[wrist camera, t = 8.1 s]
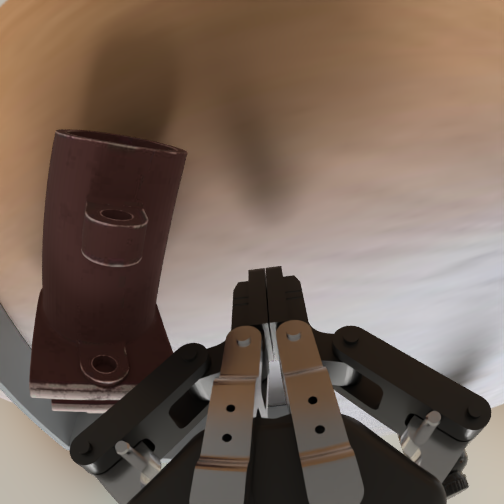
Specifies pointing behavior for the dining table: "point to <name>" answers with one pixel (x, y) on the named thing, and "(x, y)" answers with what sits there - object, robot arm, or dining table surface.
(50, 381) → the bracket
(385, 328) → the dining table surface
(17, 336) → the angled bar
